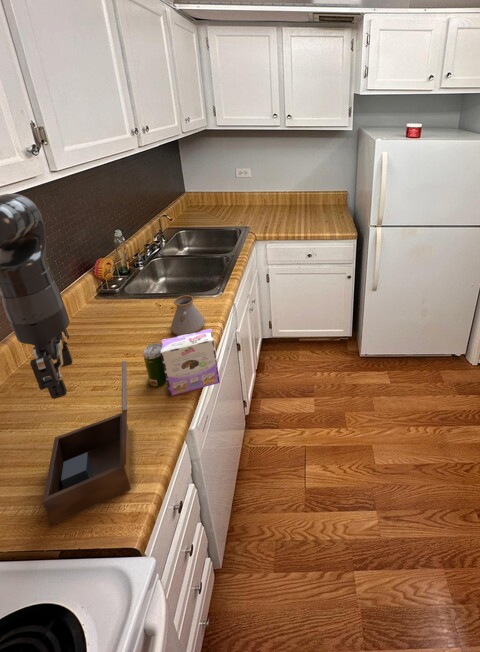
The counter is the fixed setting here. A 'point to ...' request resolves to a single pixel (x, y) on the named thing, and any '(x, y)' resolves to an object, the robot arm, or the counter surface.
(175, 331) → the coffee pot
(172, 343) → the candy box
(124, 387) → the lid
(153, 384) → the beer can
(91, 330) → the counter surface
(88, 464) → the block
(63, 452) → the box
